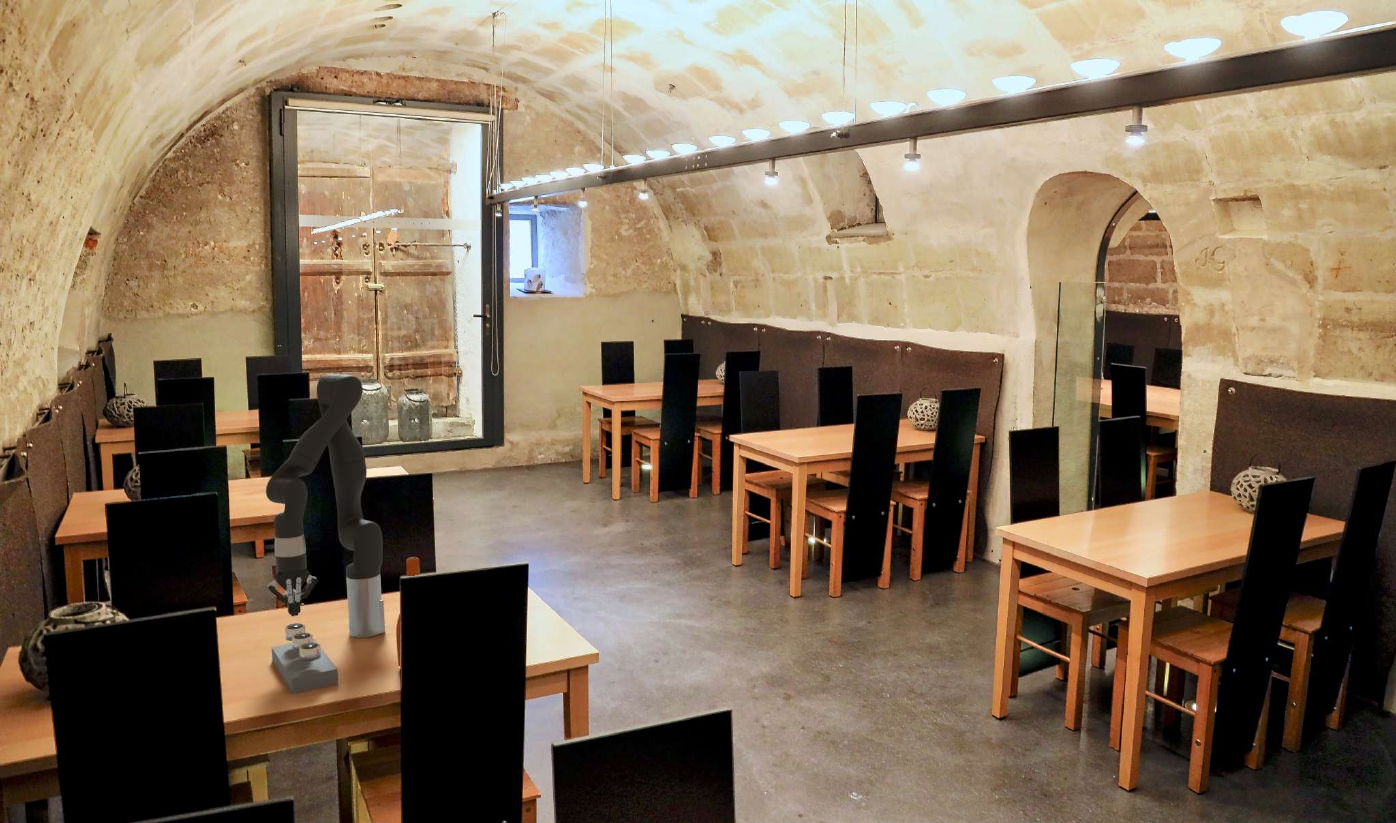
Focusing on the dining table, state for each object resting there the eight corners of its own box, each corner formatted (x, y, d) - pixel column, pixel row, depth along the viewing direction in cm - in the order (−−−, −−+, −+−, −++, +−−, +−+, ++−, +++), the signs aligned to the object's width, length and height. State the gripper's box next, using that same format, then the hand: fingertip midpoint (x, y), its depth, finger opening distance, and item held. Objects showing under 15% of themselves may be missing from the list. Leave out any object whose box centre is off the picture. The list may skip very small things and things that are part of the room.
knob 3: (318, 652, 263) (317, 640, 262) (323, 658, 259) (322, 646, 258) (297, 656, 260) (297, 644, 260) (302, 663, 256) (301, 650, 256)
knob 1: (303, 632, 277) (302, 621, 277) (307, 638, 273) (306, 626, 272) (283, 636, 274) (283, 625, 274) (287, 642, 270) (287, 630, 270)
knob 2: (310, 642, 270) (310, 630, 269) (315, 648, 266) (314, 636, 265) (290, 646, 267) (289, 634, 267) (294, 652, 263) (294, 640, 263)
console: (315, 652, 281) (314, 638, 280) (338, 683, 260) (337, 668, 259) (272, 661, 275) (271, 647, 274) (292, 693, 254) (291, 678, 254)
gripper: (313, 544, 277) (317, 606, 279) (260, 552, 270) (265, 615, 272) (320, 551, 271) (323, 614, 273) (266, 559, 264) (270, 624, 266)
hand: (294, 615), depth 273 cm, fingers closed
